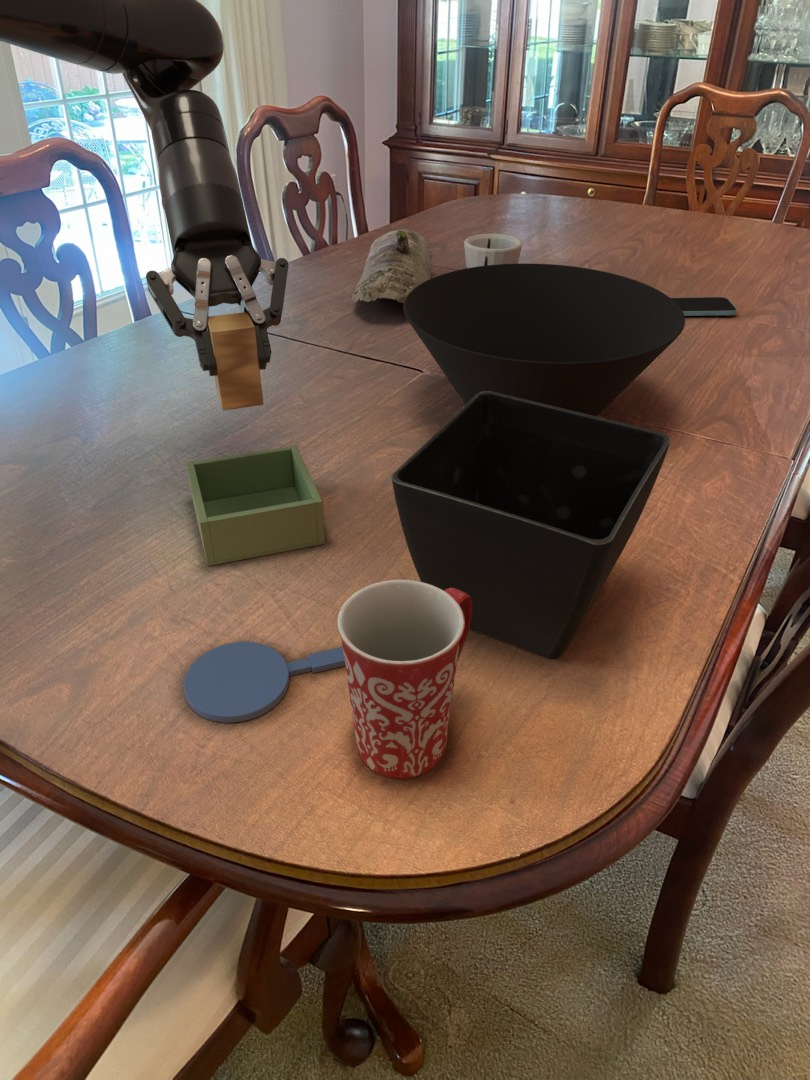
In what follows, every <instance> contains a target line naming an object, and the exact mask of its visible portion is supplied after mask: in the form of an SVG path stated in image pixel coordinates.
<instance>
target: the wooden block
mask: <svg viewBox="0 0 810 1080" xmlns="http://www.w3.org/2000/svg"><path fill="white" fill-rule="evenodd" d="M207 331H209V332H210V337H211V342H212V346H213V351H214V356H215V359H216V364H217V376H213V377H214V382H215V389H216V395H217V398H218V401H219V404H220V407H221V410H222V411H223V412H224V411H230V410H237V409H245V408H251V407H257V406H258V407H259V406H264V396H263V388H262V379H261V370H260V369H259V363H258V354H257V342H256V333H255V327H254V324H253V322H252V320H251V318H250V316H249V314H248V312H242V313H241V312H235V313H226V314H218V315H216V314H215V315H209V316H208V317H207Z"/></svg>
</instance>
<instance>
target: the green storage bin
mask: <svg viewBox="0 0 810 1080" xmlns="http://www.w3.org/2000/svg"><path fill="white" fill-rule="evenodd" d="M185 465H186V466H185V467H186V471H187V476H188V483H189V488H190V493H191V498H192V503H193V508H194V513H195V517H196V522H197V526H198V530H199V535H200V539H201V544H202V548H203V552H204V557H205V561H206V566H207V567H211V566H217V565H222V564H227V563H232V562H237V561H243V560H247V559H253V558H258V557H263V556H264V557H265V556H268V555H273V554H279V553H283V552H289V551H294V550H295V551H296V550H300V549H304V548H310V547H311V548H312V547H316V546H321V545H325V544H326V535H325V521H324V520H325V519H324V505H323V503H324V502H323V500H322V498H321V496H320V493H319V491H318V489H317V487H316V485H315V482H314V480H313V478H312V476H311V473H310V471H309V469H308V466H307V465H306V463H305V461H304V458H303V456H302V454H301V452H300V450H299V447H298V446H297V444H294V445H288V446H282V447H277V448H269V449H263V450H256V451H251V452H250V451H249V452H245V453H238V454H232V455H225V456H219V457H213V458H207V459H199V460H193V461H186V462H185Z"/></svg>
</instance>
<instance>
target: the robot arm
mask: <svg viewBox="0 0 810 1080" xmlns="http://www.w3.org/2000/svg"><path fill="white" fill-rule="evenodd" d="M0 42H3V43H6V44H9V45H13V46H15V47H18V48H22V49H24V50H28V51H30V52H34V53H37V54H41V55H43V56H47V57H49V58H53V59H57V60H60V61H62V62H66V63H69V64H72V65H77V66H80V67H83V68H87V69H90V70H94V71H98V72H101V73H105V74H110V75H118V74H122V77H123V79H124V81H125V83H126V85H127V87H128V89H129V90H130V92H131V93H132V95H133V97H134V100H135V101H136V103H137V106H138V107H139V109H140V111H141V113H142V115H143V117H144V119H145V121H146V123H147V125H148V127H149V129H150V132H151V137H152V143H153V147H154V153H155V157H156V162H157V167H158V183H159V190H160V195H161V206H162V208H163V211H164V215H165V219H166V224H167V229H168V230H167V231H168V234H169V240H170V243H171V249H172V254H173V258H172V261H171V264H170V267H169V268H166V269H164V270H162V271H160V272H157V271H156V270H149V271H147V272H146V274H145V279H146V285H147V286H146V287H147V291H148V293H149V294H150V296H151V297H152V300H153V301H154V302H155V304H156V306H157V308H158V310H159V311H160V313H161V314H162V316H163V318H164V319H165V321H166V322H167V324H168V326H169V328H170V329H171V331H172V333H173V335H175V336H176V337H178V338H182V337H183V338H184V337H187V338H191V339H192V340H193V341H194V343H195V347H196V353H197V357H198V358H197V359H198V362H199V366H200V368H201V370H202V371H203V372H208V374H209V377H214V376H217V364H216V359H215V356H214V351H213V346H212V342H211V337H210V332H209V331H208V330H207V317H208V316H210V315H209V313H210V307H218V306H220V305H223V304H228V305H237V307H238V309H239V311H240V313H242V312H248V314H249V316H250V318H251V320H252V322H253V324H254V327H255V333H256V342H257V354H258V363H259V369H260V371H261V370H262V371H263V370H266V369H267V364H269V363H270V362H271V357H272V353H273V352H272V348H271V343H270V338H269V333H268V329H269V328H271V327H272V326H274V327H276V326H279V325H280V324H281V321H282V314H283V311H284V302H285V295H286V287H287V279H288V272H289V261H288V260H287V259H286V258H285V257H280V258H277V259H276V261H273V260H268V259H263V258H261V256H260V253H258V251H257V250H256V249H255V247H254V246H253V242H252V238H251V233H250V227H249V224H248V219H247V214H246V210H245V205H244V201H243V196H242V192H241V188H240V187H241V186H240V182H239V178H238V174H237V171H236V168H235V165H234V163H233V160H232V156H231V152H230V149H229V144H228V139H227V135H226V130H225V127H224V122H223V117H222V114H221V112H220V108H219V107H218V105H217V103H216V102H215V101H214V100H213V98H212V97H210V96H209V95H207V94H206V93H204V92H202V91H199V90H197V89H193V88H194V87H196V85H197V84H199V83H200V82H202V81H203V80H204V79H205V78H206V77H208V76H209V75H210V74H211V73H213V72H214V71H215V70H216V69H217V67H218V66H219V65H220V63H221V61H222V60H223V56H224V51H225V50H224V49H225V43H224V37H223V32H222V30H221V28H220V25H219V23H218V22H217V20H216V18H215V17H214V15H213V14H212V12H211V11H209V9H207V7H206V6H204V5H203V4H202V3H201V2H199V1H198V0H0ZM260 273H261V274H263V275H264V280H265V282H266V284H267V285H269V286H272V289H271V297H270V304H269V307H267V308H265V309H262V307H261V304H260V303H259V302H258V299H257V295H256V292H255V291H254V289H253V285H254V283H255V281H256V280H257V278H258V276H259V274H260ZM175 282H176V283H178V284H179V285H180V286H181V287H182V288H183V289H184V290H186V292H188V293H189V294H190V295H191V296H192V297H193V298H194V308H193V318H189V317H185V315H184V314H183V312H182V310H181V309H180V307H179V306H178V304H177V302H176V300H175V299H174V298H173V297H174V296H173V294H174V292H175V290H174V289H175V288H174V283H175Z"/></svg>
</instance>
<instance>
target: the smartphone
mask: <svg viewBox="0 0 810 1080" xmlns="http://www.w3.org/2000/svg"><path fill="white" fill-rule="evenodd" d="M670 298H671V299H672V300H673V301H675V302H676V303H677V304H678V306H679V307H680V308H681V310H682V311H683V314H684V316H685V317H695V316H699V317H700V316H703V317H704V316H705V317H707V316H715V317H720V316H726V317H728V316H730V317H731V316H735V315H736V314H737V310H738V309H737V307H736V306H735V304H733V303H732V301H731V300H730V299H729V298H727V297H724V296H699V297H698V296H696V297H693V296H692V297H687V296H686V297H670Z"/></svg>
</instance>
